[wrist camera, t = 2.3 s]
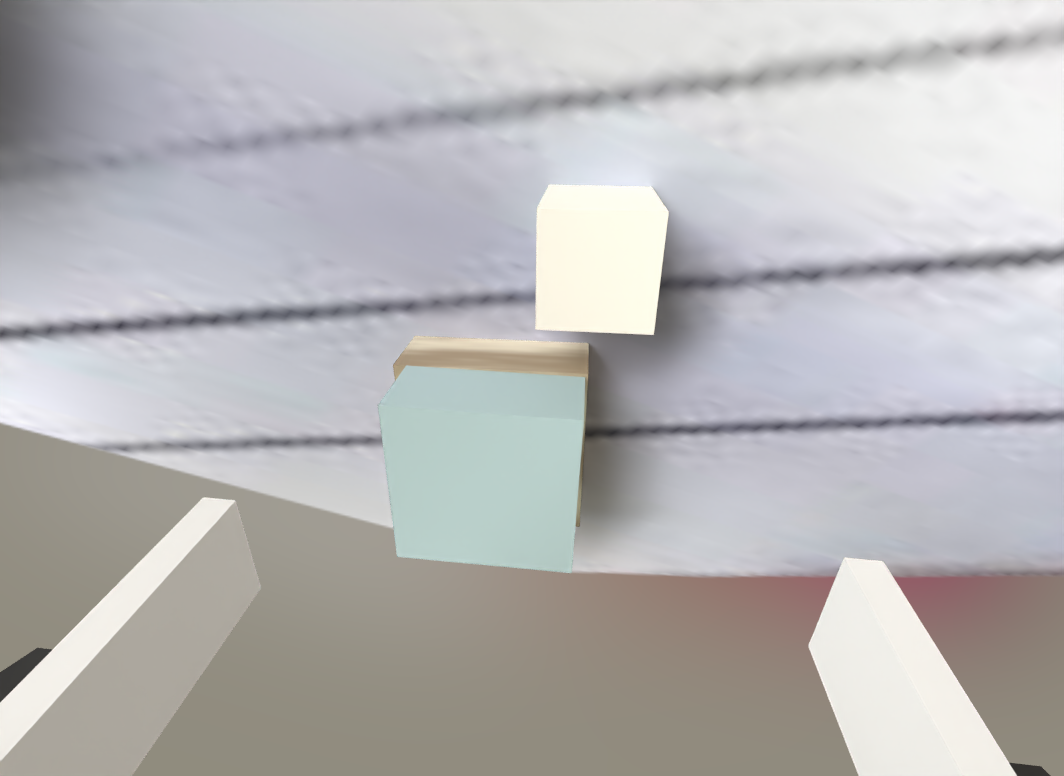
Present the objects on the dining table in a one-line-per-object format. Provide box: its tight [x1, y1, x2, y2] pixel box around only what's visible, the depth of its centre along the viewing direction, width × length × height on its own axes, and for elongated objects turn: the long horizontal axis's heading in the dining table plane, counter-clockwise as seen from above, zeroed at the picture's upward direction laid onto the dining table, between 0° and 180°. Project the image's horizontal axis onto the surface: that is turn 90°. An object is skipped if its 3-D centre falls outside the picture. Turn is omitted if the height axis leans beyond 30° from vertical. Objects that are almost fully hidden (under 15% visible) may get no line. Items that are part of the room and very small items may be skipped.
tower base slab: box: [393, 336, 589, 527], centre depth 38 cm, size 12×12×5 cm
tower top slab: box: [378, 365, 585, 573], centre depth 33 cm, size 11×11×5 cm
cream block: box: [535, 184, 669, 335], centre depth 30 cm, size 6×6×8 cm
